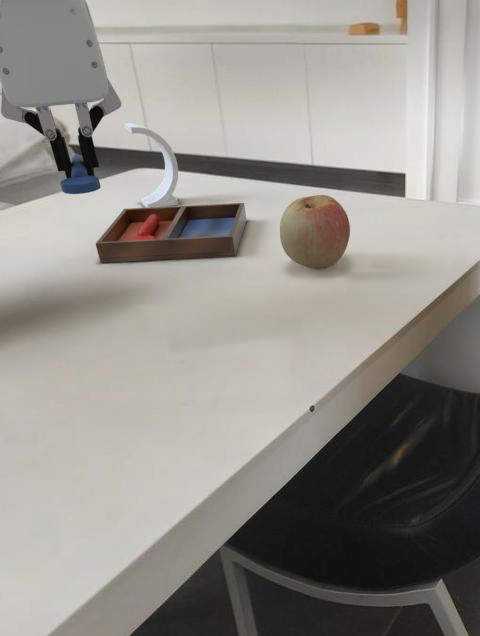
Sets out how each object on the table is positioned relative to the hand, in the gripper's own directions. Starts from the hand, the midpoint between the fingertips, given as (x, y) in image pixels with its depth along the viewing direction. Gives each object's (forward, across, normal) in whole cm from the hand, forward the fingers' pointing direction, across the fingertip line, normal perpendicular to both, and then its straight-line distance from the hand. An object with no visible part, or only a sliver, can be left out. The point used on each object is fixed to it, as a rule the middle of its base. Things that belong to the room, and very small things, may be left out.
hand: (80, 175), depth 75 cm
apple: (+13, -25, +2) cm, 29 cm away
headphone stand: (+13, -10, -37) cm, 40 cm away
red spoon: (+12, -6, -17) cm, 22 cm away
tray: (+13, -10, -16) cm, 23 cm away
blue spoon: (0, 0, +2) cm, 2 cm away
